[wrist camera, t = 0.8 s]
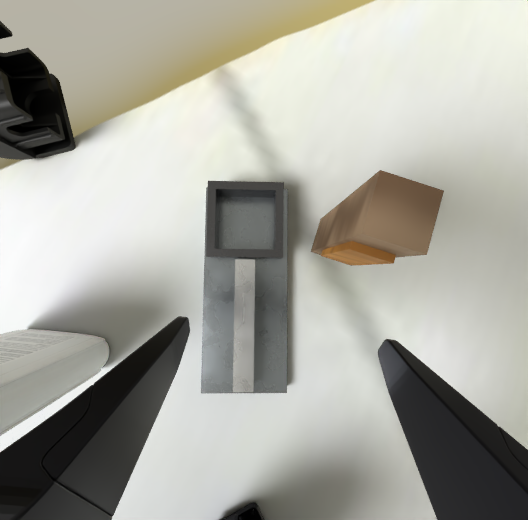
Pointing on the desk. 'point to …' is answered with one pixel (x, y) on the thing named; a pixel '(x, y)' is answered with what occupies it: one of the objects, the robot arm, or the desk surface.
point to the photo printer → (43, 369)
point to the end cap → (31, 107)
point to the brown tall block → (380, 222)
